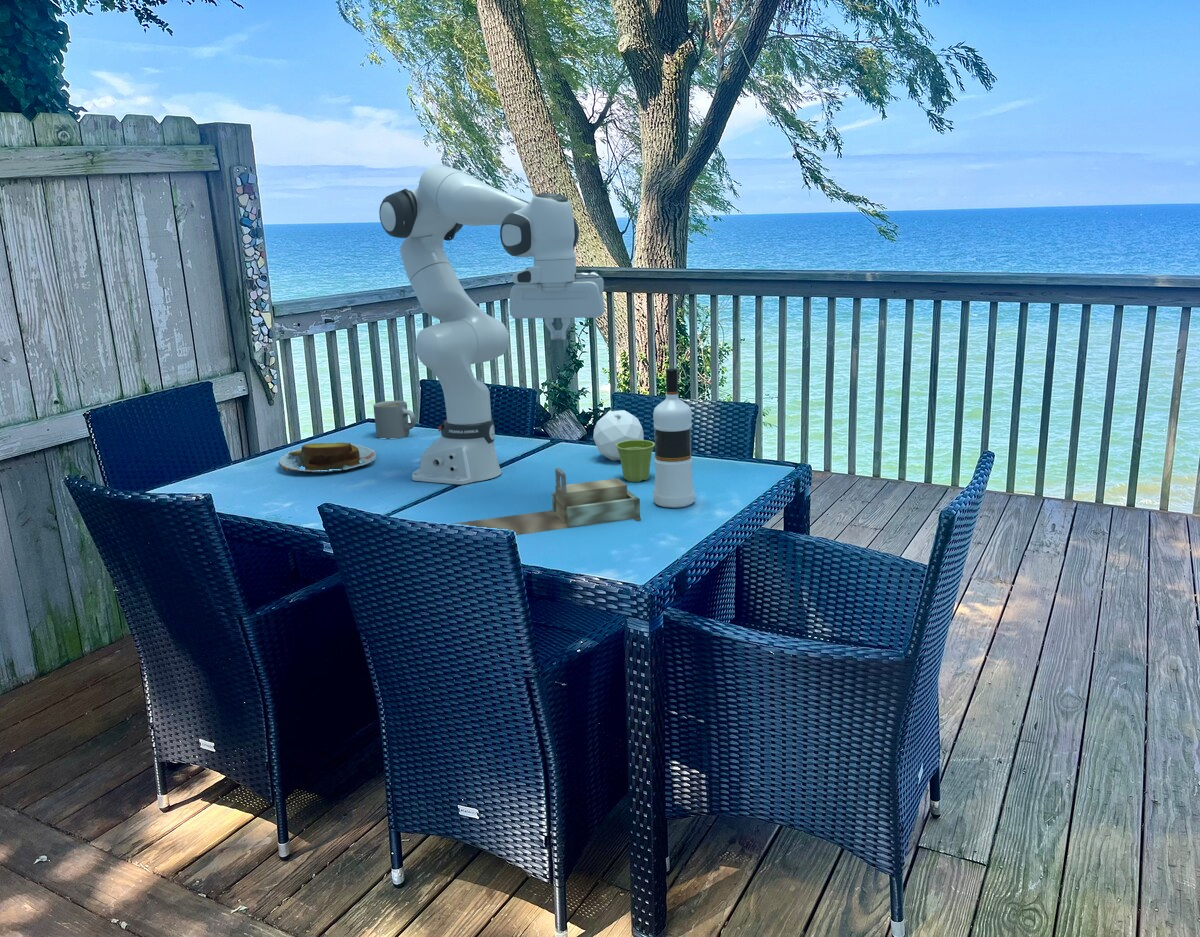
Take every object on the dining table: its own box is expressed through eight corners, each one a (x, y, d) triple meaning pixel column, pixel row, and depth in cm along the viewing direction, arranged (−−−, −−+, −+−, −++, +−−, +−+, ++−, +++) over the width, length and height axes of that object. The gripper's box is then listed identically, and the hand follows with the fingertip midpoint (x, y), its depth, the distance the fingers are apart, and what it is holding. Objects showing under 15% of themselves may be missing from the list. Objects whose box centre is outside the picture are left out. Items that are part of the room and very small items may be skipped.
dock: (462, 545, 183) (460, 523, 182) (451, 526, 195) (449, 505, 194) (640, 520, 194) (640, 499, 193) (619, 503, 206) (619, 483, 205)
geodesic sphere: (655, 444, 236) (644, 396, 241) (603, 449, 233) (593, 400, 238) (643, 466, 249) (633, 420, 254) (593, 471, 246) (584, 425, 251)
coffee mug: (369, 437, 283) (366, 405, 281) (394, 431, 291) (391, 399, 289) (399, 441, 276) (396, 408, 273) (424, 435, 284) (421, 403, 281)
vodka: (675, 511, 199) (673, 373, 192) (644, 503, 206) (640, 369, 198) (703, 501, 205) (702, 367, 198) (672, 494, 212) (670, 363, 204)
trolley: (565, 524, 192) (563, 475, 189) (555, 514, 199) (553, 466, 196) (629, 515, 196) (627, 467, 193) (617, 506, 203) (615, 459, 200)
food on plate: (370, 449, 268) (367, 427, 267) (385, 469, 246) (383, 445, 244) (275, 461, 259) (272, 437, 257) (283, 482, 236) (279, 457, 234)
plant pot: (652, 484, 221) (651, 449, 218) (613, 483, 223) (612, 448, 220) (658, 474, 230) (657, 440, 227) (620, 473, 231) (619, 439, 229)
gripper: (606, 271, 196) (608, 336, 199) (514, 273, 200) (517, 337, 204) (600, 273, 190) (602, 340, 193) (505, 275, 194) (509, 341, 198)
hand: (558, 339), depth 199 cm, fingers closed
